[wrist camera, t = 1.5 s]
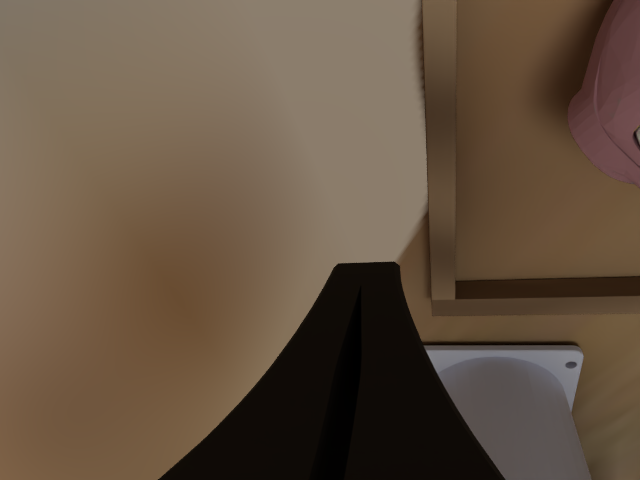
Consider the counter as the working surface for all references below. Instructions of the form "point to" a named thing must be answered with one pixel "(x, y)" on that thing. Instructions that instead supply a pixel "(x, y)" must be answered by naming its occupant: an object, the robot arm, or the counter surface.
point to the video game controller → (612, 96)
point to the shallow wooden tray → (441, 178)
